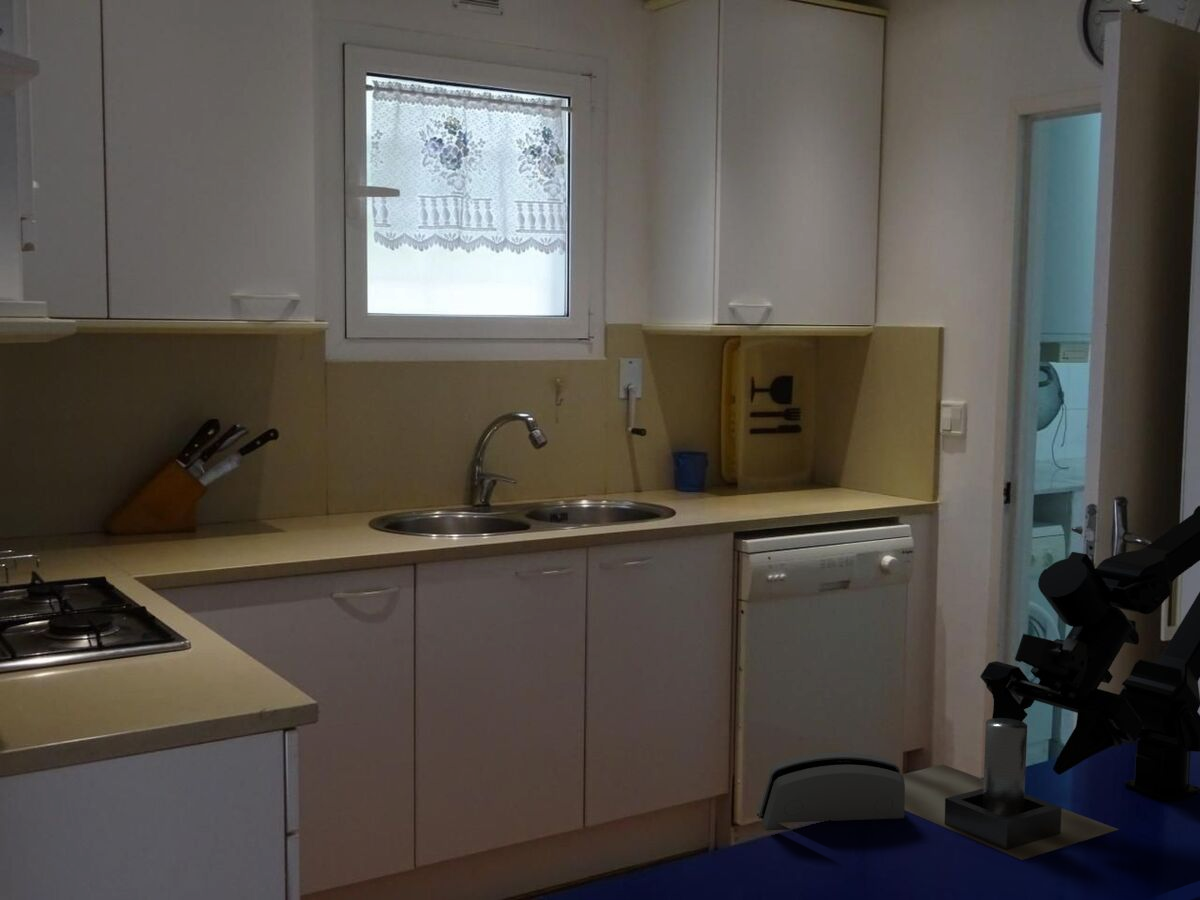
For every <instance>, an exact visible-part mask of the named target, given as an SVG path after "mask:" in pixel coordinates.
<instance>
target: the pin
mask: <svg viewBox="0 0 1200 900" xmlns="http://www.w3.org/2000/svg"><path fill="white" fill-rule="evenodd" d="M984 733H985V736H984V763H983V779H984V784H983V808H984V809H986V810H989V811H991V812H994V813H996V814H999V815H1001V816H1004V817H1009V816H1013V815H1016V814H1020V813H1023V812H1024V795H1025V794H1026V793H1025V792H1026V791H1025V788H1026V770H1027V769H1026V768H1027V765H1026V764H1027V763H1026V762H1027V745H1028V744H1027V743H1028V741H1027V740H1028V739H1027V738H1028V724H1027V723H1025V722H1024V721H1019V720H1015V719H1008V718H993V719H992V718H989V719H987V720H986V721H985V732H984Z"/></svg>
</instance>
